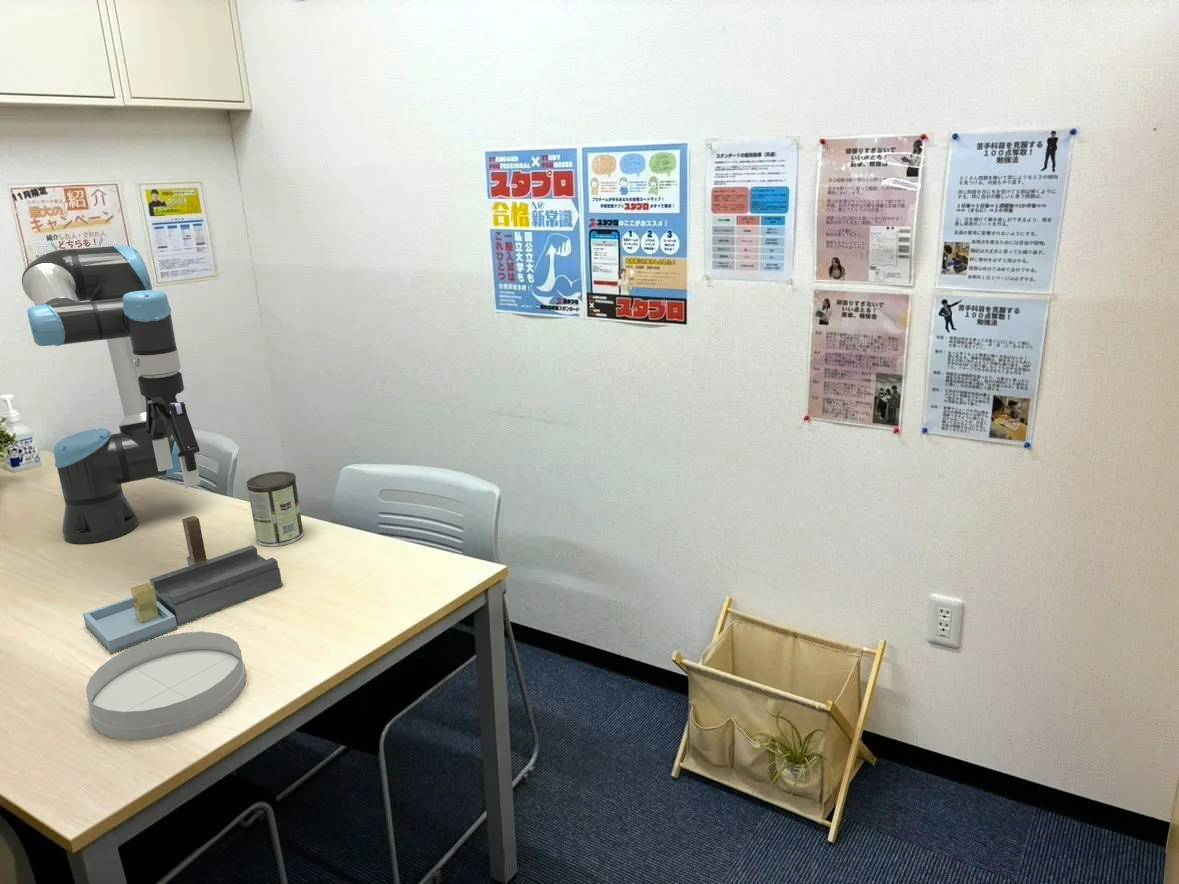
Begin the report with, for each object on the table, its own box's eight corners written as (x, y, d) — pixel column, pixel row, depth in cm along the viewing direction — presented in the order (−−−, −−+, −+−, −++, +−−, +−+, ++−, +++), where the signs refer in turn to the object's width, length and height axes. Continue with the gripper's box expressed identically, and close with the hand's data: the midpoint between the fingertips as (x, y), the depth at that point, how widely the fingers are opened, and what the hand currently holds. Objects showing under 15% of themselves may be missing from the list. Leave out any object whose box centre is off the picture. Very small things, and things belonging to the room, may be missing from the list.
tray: (85, 625, 149) (82, 613, 149) (149, 603, 157) (146, 591, 156) (111, 654, 140) (108, 641, 139) (177, 628, 148) (175, 616, 147)
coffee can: (274, 526, 191) (265, 469, 187) (312, 530, 189) (305, 472, 184) (245, 544, 182) (235, 485, 177) (285, 549, 179) (276, 489, 175)
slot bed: (154, 604, 157) (148, 578, 155) (254, 568, 170) (251, 544, 169) (178, 625, 149) (172, 598, 147) (282, 586, 162) (278, 561, 161)
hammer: (189, 570, 170) (178, 517, 167) (201, 566, 172) (191, 513, 168) (200, 578, 167) (189, 524, 163) (212, 574, 168) (202, 520, 165)
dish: (63, 709, 126) (56, 681, 125) (197, 643, 143) (192, 618, 142) (140, 761, 114) (133, 731, 113) (275, 682, 132) (271, 655, 130)
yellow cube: (133, 603, 149) (130, 588, 148) (151, 597, 151) (148, 582, 151) (139, 608, 147) (136, 593, 146) (157, 602, 149) (154, 587, 149)
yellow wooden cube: (153, 611, 152) (136, 617, 150) (150, 597, 151) (132, 603, 149) (159, 617, 150) (141, 623, 148) (156, 602, 149) (138, 609, 147)
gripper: (115, 367, 161) (136, 467, 168) (163, 387, 145) (184, 498, 152) (155, 360, 167) (174, 458, 173) (206, 379, 150) (224, 487, 157)
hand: (179, 477), depth 163 cm, fingers open, 13 cm apart
